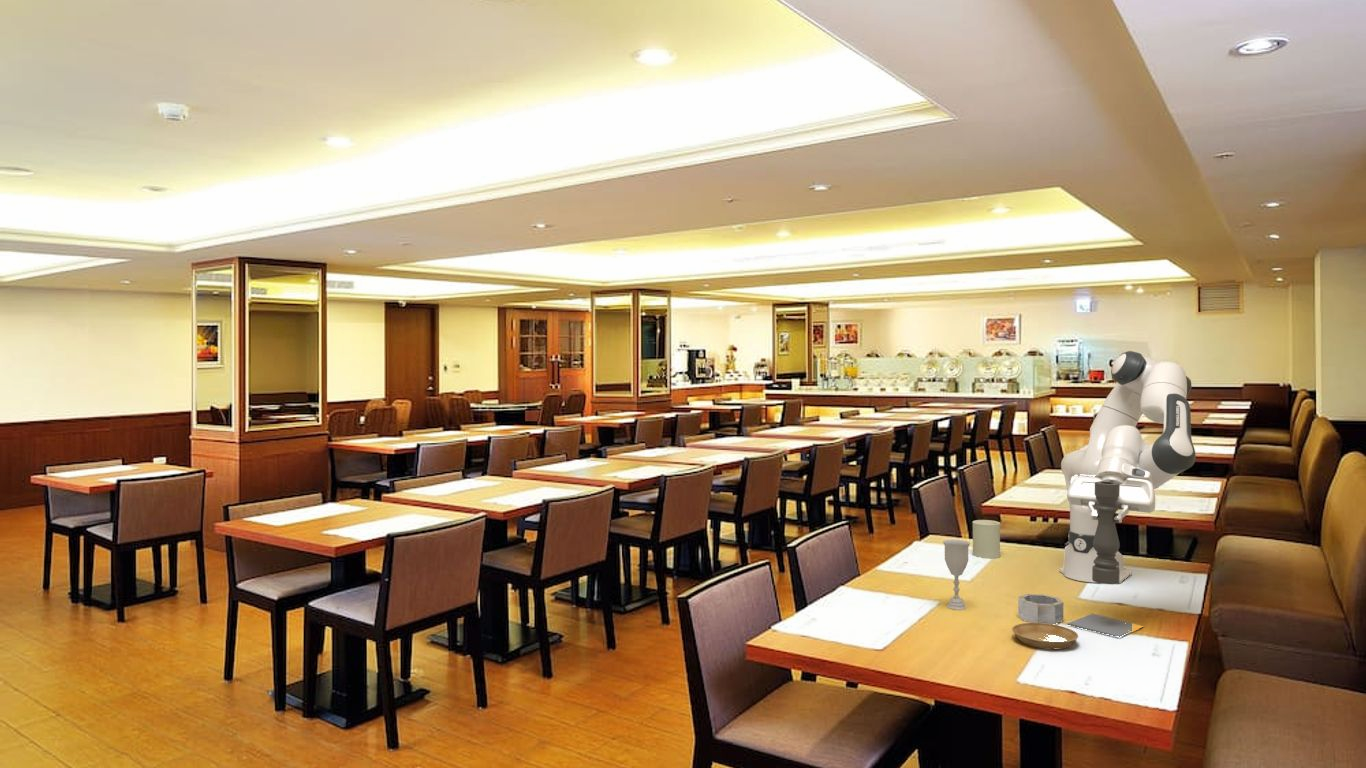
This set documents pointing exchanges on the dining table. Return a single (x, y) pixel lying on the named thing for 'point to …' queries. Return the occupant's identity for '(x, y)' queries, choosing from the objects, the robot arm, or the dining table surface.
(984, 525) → the can
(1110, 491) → the candle holder
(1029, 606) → the steel collar
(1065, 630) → the plant saucer
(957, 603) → the chalice
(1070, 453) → the robot arm
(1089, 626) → the slate mat
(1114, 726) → the dining table surface
